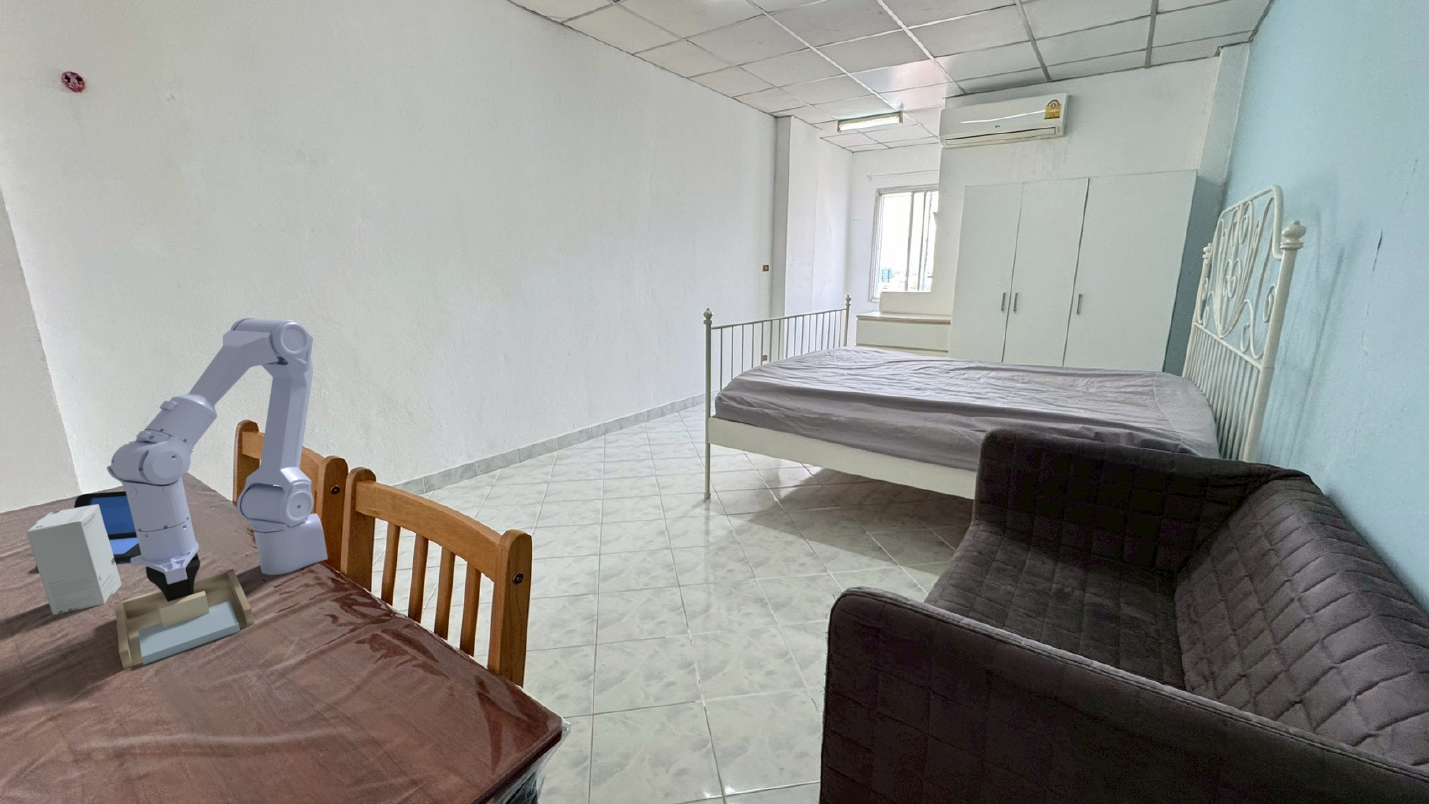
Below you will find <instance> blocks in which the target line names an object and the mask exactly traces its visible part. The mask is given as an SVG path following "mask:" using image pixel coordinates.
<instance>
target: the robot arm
mask: <svg viewBox="0 0 1429 804" xmlns="http://www.w3.org/2000/svg"><path fill="white" fill-rule="evenodd" d="M222 342H223V343H222V344H223V345H222V347H221V348H220V349H219V350H218V352H217V353H216V355H215V356H214V357H213V359H212V360H211V361H210V363H209V365H208V366H207V367H206V368H205V370H204V371H203V373H202V374H201V376H199V378H198V380H197V381H196V382H195V383H194V385H193V386H192V387H191V389H190V391H189V392H188V393H186V394H182V395H176V396H173V397H171V398H170V399H169V400H164V401H163V402H162V404H161V405H160V406H159V409H160V411H159V412H158V413H157V414H156V416H155V417H154V418H153V419H152V420H151V421H150V422H149V424H147V426H146V427H145V429H143V430H141V431H139V433H138V434H136V436H135V437H136V439H135V440H133V441H128V443H124V444H123V445H121V446H120V447H119V448H118V449H117V450H116V451H115V452H114V454H113V456H112V457H111V460H110V461H111V462H110V463H111V464H110V465H109V466H108V465H107V467H106V469H107V472H108V474H109V476H111V477H112V478H114V479H115V480H117V481H119V482H120V483H121V484H122V487H123V491H126V494H127V498H128V502H129V506H130V510H131V514H132V518H133V522H134V526H135V530H136V534H137V538H138V542H139V546H140V551H141V555H139V556H135V557H132V558H131V559H130V560H131V561H130V564H131V567H138V566H141V565H142V566H145V573H146V578H147V579H148V581H149V582H151V583H152V584H153V585H155V587H157V588H158V590H161V591H162V592H163V594H164V596H165V598H166V600H167V601H168V602H169V601H172V600H176V599H179V598H182V597H186V596H189V595H192V594H194V581H195V580H196V576H197V574H198V571H199V569H200V567H201V561H200V558H199V555H198V551H199V549H200V546H199V543H198V542H197V541H196V536H195V532H194V527H193V524H192V517H191V514H190V510H189V505H188V501H187V495H186V491H185V486H184V482H183V478H182V477H183V476H184V475H185V474H186V473H188V472H189V470H190V467H191V456H192V453H193V452H194V450H193V449H194V447H195V445H197V443H198V442H199V440H201V438H202V437H203V435H204V434H205V433H206V432H207V430H208V429H210V426H211V425H212V424H213V423H214V422H215V420H216V419H217V418H218V413H217V410H216V407H215V406H216V405H217V404H218V402H219V401H220V400H221V399H222V398H223V397H224V396H225V395H226V394H227V393H228V392H229V391H230V390H231V389H232V388H233V386H235V384H236V383H237V382H238V381H239V380H240V379H241V378H242V377H243V375H245V374H246V373H247V372H248V370H250V368H254V367H257V366H258V367H259V366H261V367H262V368H263V369H265V371H267V373H268V374H269V375H270V376H271V377H272V380H271V389H270V393H269V394H270V396H269V402H268V409H267V414H266V415H267V416H266V424H265V429H264V436H263V441H262V449H261V451H262V452H261V456H260V462H259V463H260V464H259V467H258V468H257V469H256V470H254V471H253V472H252V473H251V474H249V475H248V476H247V477H245V484H244V487H243V490H241V493H240V494H239V496H238V498H237V503H236V509H237V512H238V514H239V516H241V518H244V519H245V520H248V522H249V526H251V527H252V530H253V535H254V539H255V540H254V541H255V545H256V550H257V555H258V556H257V557H258V560H259V566H260V571H261V573H262V574H264V575H268V576H275V575H276V576H278V575H283V574H288V573H292V572H295V571H298V570H300V569H302V568H305V567H307V566H310V565H313V564H316V563H320V562H322V561H325V560H328V553H327V546H326V539H325V534H324V528H323V524H322V522H321V519H320V517H319V515H318V514H317V513H311V512H312V510H313V507H314V497H313V494H312V480H311V479H310V477H308V476H307V475H306V474H305V473H304V472H303V471H302V470H301V469H300V467H301V460H302V453H303V452H302V451H303V445H304V438H305V431H306V422H307V416H308V409H309V402H310V396H311V395H310V394H311V387H312V381H313V373H314V371H313V370H314V366H313V363H312V358H311V356H312V351H313V349H312V348H313V343H314V337H313V335H312V334H310V332H309V331H308V330H307V328H306V327H305V326H304V325H303V324H302V323H300V322H299V321H296V320H292V319H286V320H278V319H277V320H276V319H259V318H258V319H255V318H250V317H243V318H240V319H238V320H237V321H235V322H234V323H233V324H232V326H231V328H230V329H229V330H227V332H225V333H224V334H223V336H222Z"/></svg>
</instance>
